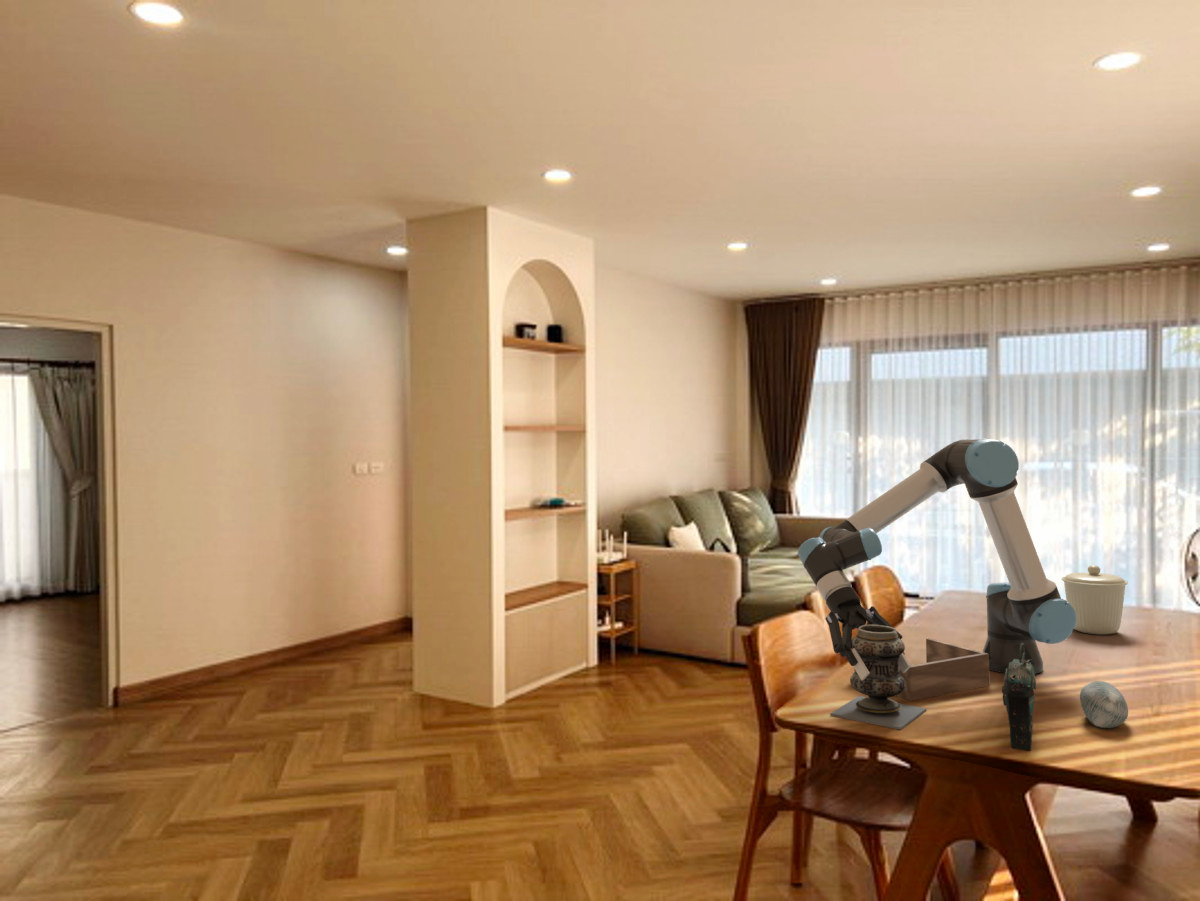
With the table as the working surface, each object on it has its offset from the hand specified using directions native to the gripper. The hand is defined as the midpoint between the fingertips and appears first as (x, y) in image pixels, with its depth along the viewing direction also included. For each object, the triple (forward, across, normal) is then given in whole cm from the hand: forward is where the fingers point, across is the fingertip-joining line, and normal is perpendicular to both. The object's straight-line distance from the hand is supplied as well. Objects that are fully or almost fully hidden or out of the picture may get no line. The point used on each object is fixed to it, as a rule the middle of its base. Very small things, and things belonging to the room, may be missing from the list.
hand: (886, 673), depth 187 cm
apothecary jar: (+4, 0, -8) cm, 9 cm away
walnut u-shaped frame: (-4, -26, -18) cm, 32 cm away
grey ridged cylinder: (+25, -38, +10) cm, 47 cm away
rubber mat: (+5, 0, -9) cm, 10 cm away
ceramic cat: (+23, -15, +9) cm, 29 cm away
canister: (-14, -117, -29) cm, 121 cm away
